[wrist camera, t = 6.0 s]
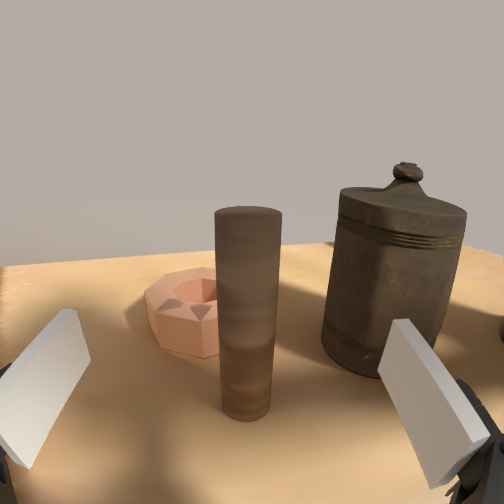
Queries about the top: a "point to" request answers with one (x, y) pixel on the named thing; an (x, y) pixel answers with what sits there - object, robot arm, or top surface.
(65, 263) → the top surface
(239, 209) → the walnut dowel
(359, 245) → the wooden container
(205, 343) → the terracotta bead
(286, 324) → the top surface
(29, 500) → the top surface
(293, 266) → the top surface
